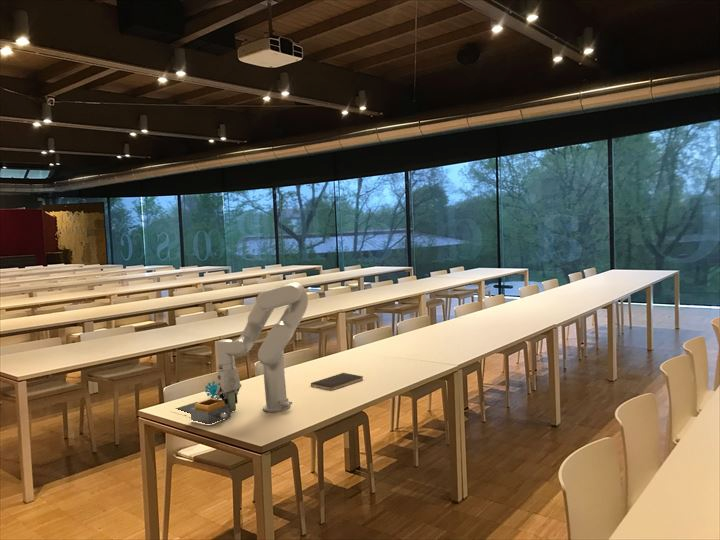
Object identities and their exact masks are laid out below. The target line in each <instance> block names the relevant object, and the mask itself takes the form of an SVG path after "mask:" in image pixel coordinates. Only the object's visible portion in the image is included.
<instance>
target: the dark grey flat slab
mask: <svg viewBox="0 0 720 540" xmlns="http://www.w3.org/2000/svg"><path fill="white" fill-rule="evenodd" d="M199 402H200V401H199ZM199 402H198V401H196V402H195V401H194V402H192V403H188V404H186V405H181V406H179V407H176V408H175V409H178V410H181V411H184V412H187V413H190V414H191V412H190V409H192V408H194V407H195V404H196V403H199Z"/></svg>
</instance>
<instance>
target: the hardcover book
mask: <svg viewBox="0 0 720 540" xmlns="http://www.w3.org/2000/svg"><path fill="white" fill-rule="evenodd" d="M363 378H364V376H363V375H357V374H353V373H347V372H341V373H339V374H338V373H337V374H335V375H331V376H329V377H326V378H323V379H319V380H316V381H312V382H311V383H310V386H311V387H314V386H316V387H315V388H319V387H320V389H323V388H324V389H323V390H328V391H333V390H336V389H339V388H342V387H345V386H348V385H351V384H354V383H358V382H361V381H363V380H364V379H363Z"/></svg>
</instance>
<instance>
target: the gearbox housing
mask: <svg viewBox="0 0 720 540" xmlns="http://www.w3.org/2000/svg"><path fill="white" fill-rule="evenodd" d="M190 412H191V418H190V421H191V420H193V421H198V422H202V423H205V424H212V423H215V422H217V421H220V420H223V419H226V420H228V419H227V418H229V417H231V418H232V416H231V415H232V414H231V412H230V404H225V403H224V400H222V399H219V398H218V399H215V398H214V397H213V398H211V397H210V398H208V399H205V400H202V401H199V403H196V404H195V407H194V408H192V409H190ZM229 419H230V418H229Z"/></svg>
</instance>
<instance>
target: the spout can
mask: <svg viewBox="0 0 720 540" xmlns="http://www.w3.org/2000/svg"><path fill="white" fill-rule="evenodd" d="M226 398H227V399H228V404H230V413H233V412H232V411H234V412H236V411H237V405H236V402H235V391H234V390H233V391H231V392H228V393H227V397H226ZM235 410H236V411H235Z"/></svg>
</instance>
